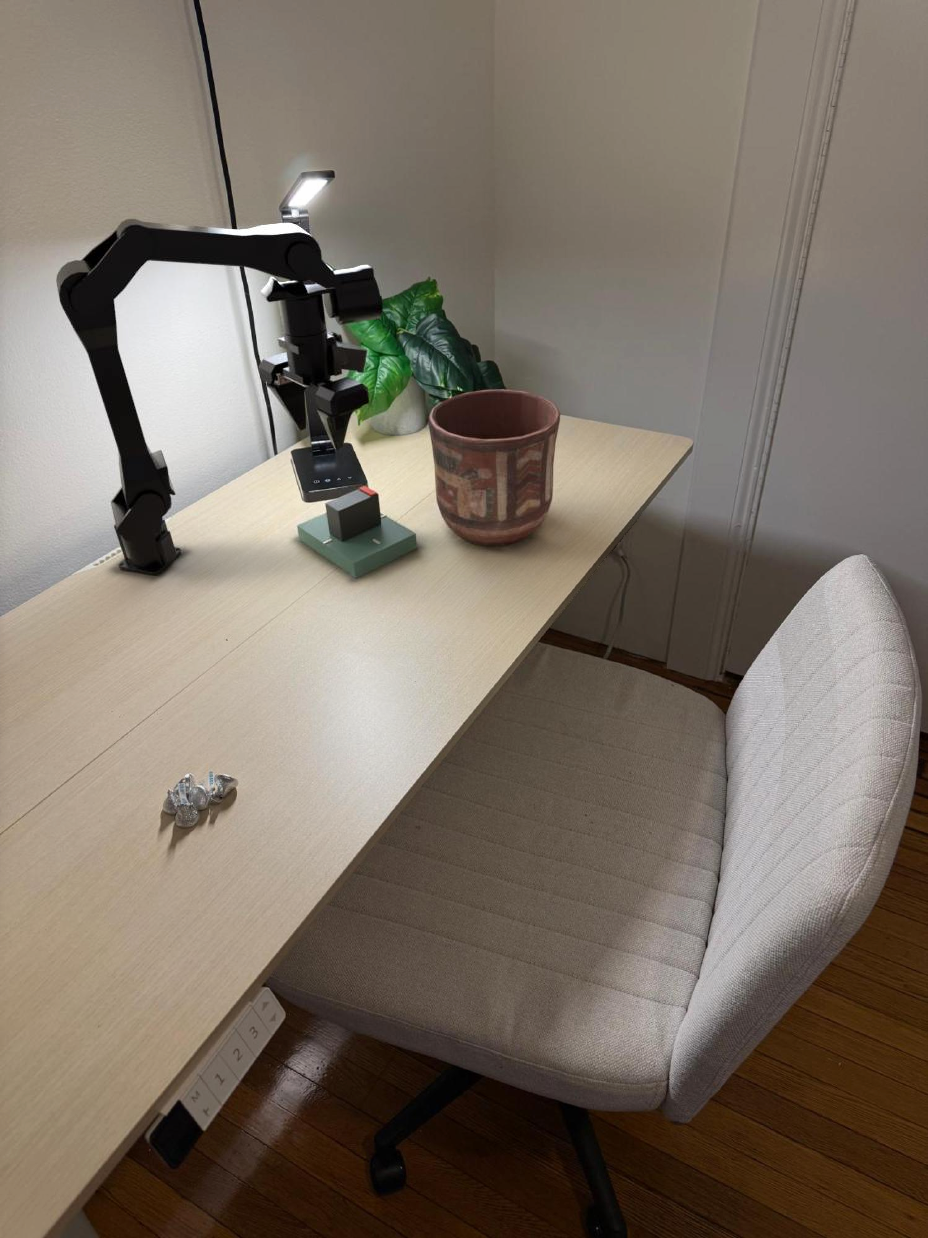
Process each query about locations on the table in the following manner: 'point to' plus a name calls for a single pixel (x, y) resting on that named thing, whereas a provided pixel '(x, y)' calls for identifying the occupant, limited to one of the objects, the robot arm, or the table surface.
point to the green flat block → (359, 544)
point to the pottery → (494, 463)
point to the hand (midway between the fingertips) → (320, 438)
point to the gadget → (353, 513)
